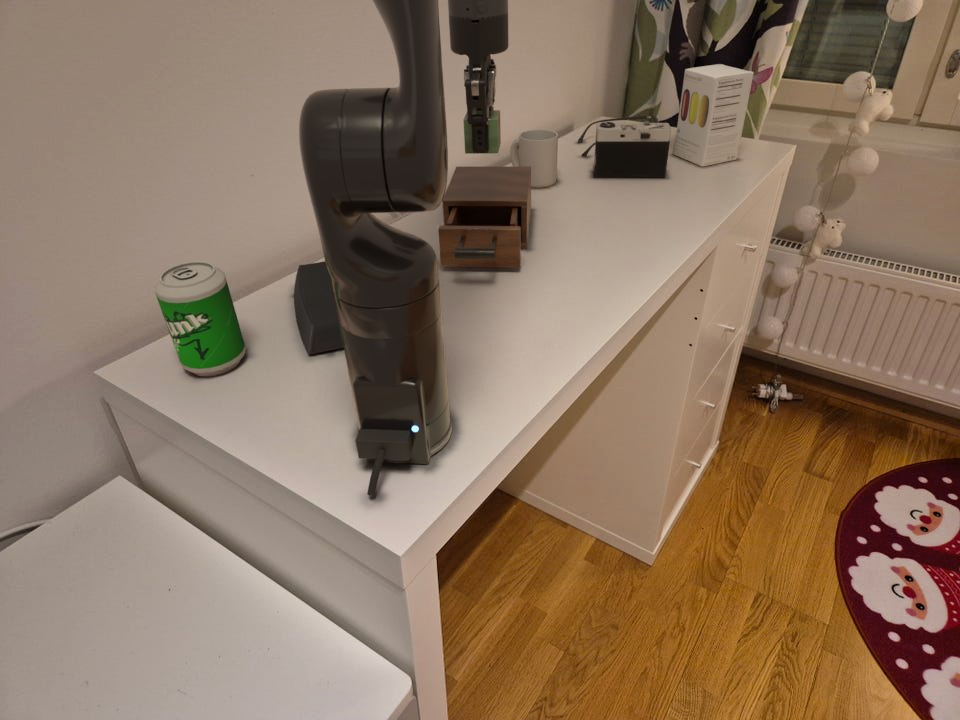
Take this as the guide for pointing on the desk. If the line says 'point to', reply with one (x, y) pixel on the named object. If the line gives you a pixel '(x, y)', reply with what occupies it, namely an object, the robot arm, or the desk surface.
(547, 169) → the cup
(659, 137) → the camera
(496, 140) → the block
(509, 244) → the drawer
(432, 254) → the robot arm
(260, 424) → the desk surface
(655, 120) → the sunglasses
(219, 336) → the soda can
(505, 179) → the cabinet
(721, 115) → the supplement box
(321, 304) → the hard drive
